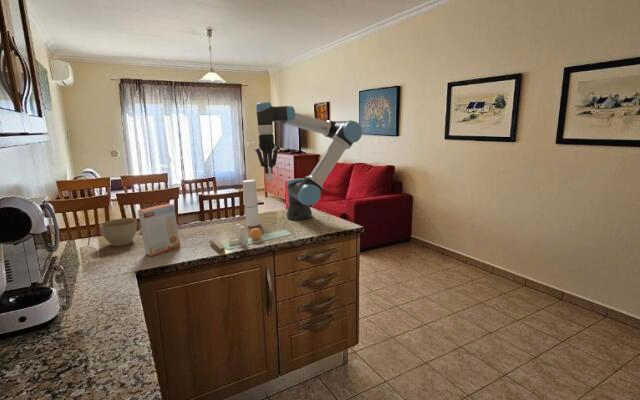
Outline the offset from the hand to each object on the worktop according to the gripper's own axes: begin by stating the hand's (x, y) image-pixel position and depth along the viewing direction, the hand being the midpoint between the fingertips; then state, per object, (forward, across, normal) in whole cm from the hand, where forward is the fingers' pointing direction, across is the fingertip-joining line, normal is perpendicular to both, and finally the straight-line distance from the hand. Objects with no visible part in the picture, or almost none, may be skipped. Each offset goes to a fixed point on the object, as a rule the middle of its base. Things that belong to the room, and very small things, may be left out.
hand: (269, 179), depth 180 cm
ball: (+23, +15, +13) cm, 31 cm away
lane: (+26, +14, +12) cm, 32 cm away
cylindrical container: (+27, +6, -14) cm, 31 cm away
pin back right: (+26, +22, +10) cm, 36 cm away
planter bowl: (+27, +70, -28) cm, 80 cm away
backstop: (+26, +34, +12) cm, 45 cm away
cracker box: (+27, +55, -2) cm, 61 cm away
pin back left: (+26, +22, +14) cm, 37 cm away
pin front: (+25, +20, +12) cm, 34 cm away
